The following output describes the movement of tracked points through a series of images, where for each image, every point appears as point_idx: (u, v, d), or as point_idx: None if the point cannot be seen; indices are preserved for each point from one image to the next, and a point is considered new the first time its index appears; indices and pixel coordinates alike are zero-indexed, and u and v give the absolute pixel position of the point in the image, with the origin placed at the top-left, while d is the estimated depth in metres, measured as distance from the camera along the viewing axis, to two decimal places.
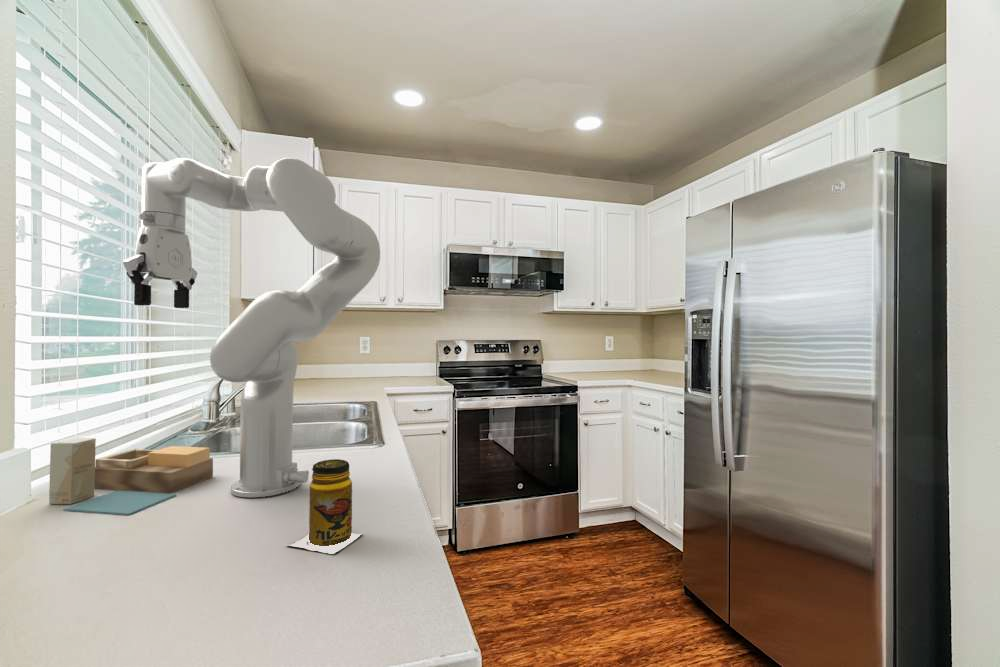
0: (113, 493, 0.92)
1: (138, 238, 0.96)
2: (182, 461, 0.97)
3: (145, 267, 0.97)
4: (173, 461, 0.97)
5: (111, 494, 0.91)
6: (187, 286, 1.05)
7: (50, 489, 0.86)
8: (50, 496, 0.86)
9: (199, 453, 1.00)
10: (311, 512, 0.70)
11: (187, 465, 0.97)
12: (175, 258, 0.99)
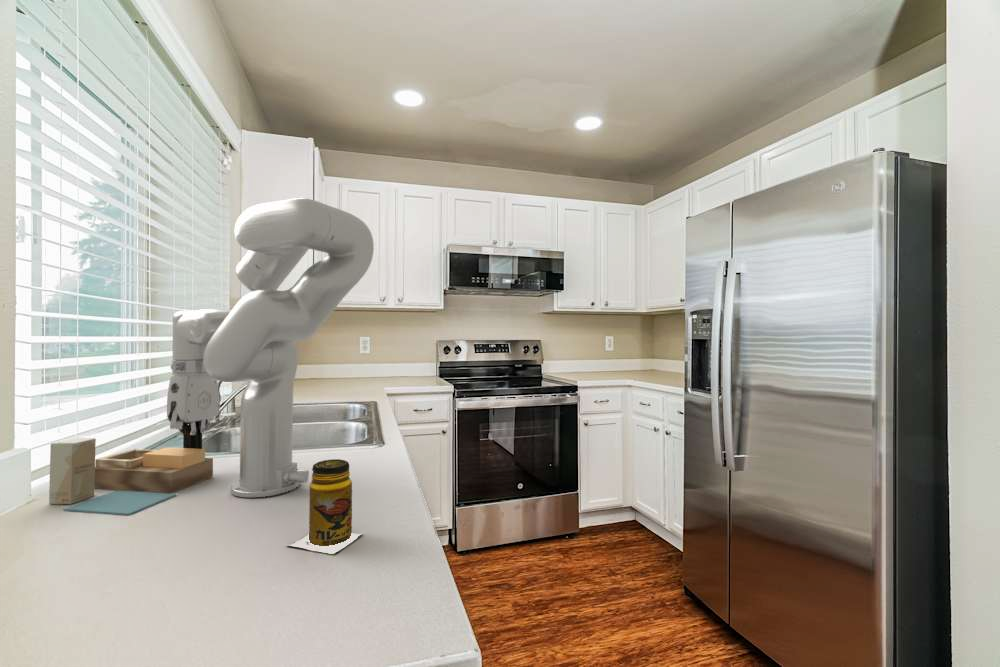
0: (113, 493, 0.92)
1: (169, 387, 1.00)
2: (177, 462, 0.96)
3: None
4: (168, 463, 0.96)
5: (111, 494, 0.91)
6: (201, 428, 1.04)
7: (50, 489, 0.86)
8: (50, 496, 0.86)
9: (194, 455, 0.99)
10: (311, 512, 0.70)
11: (182, 466, 0.96)
12: (204, 400, 1.03)
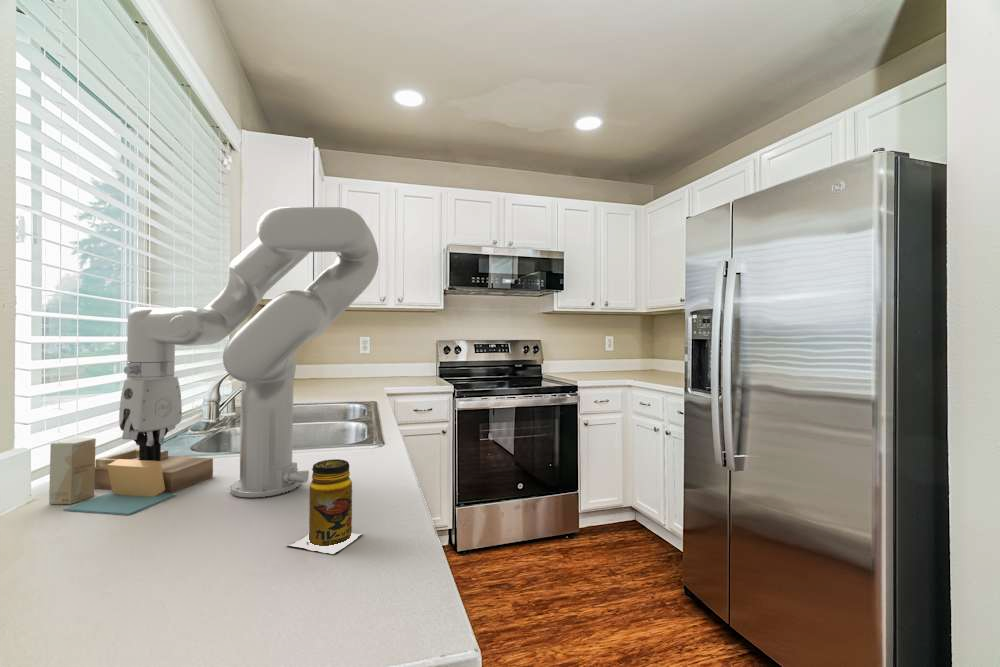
0: None
1: (123, 392, 0.89)
2: None
3: None
4: None
5: (111, 494, 0.91)
6: (160, 438, 0.94)
7: (50, 489, 0.86)
8: (50, 496, 0.86)
9: (154, 479, 0.90)
10: (311, 512, 0.70)
11: (163, 490, 0.92)
12: (162, 407, 0.93)
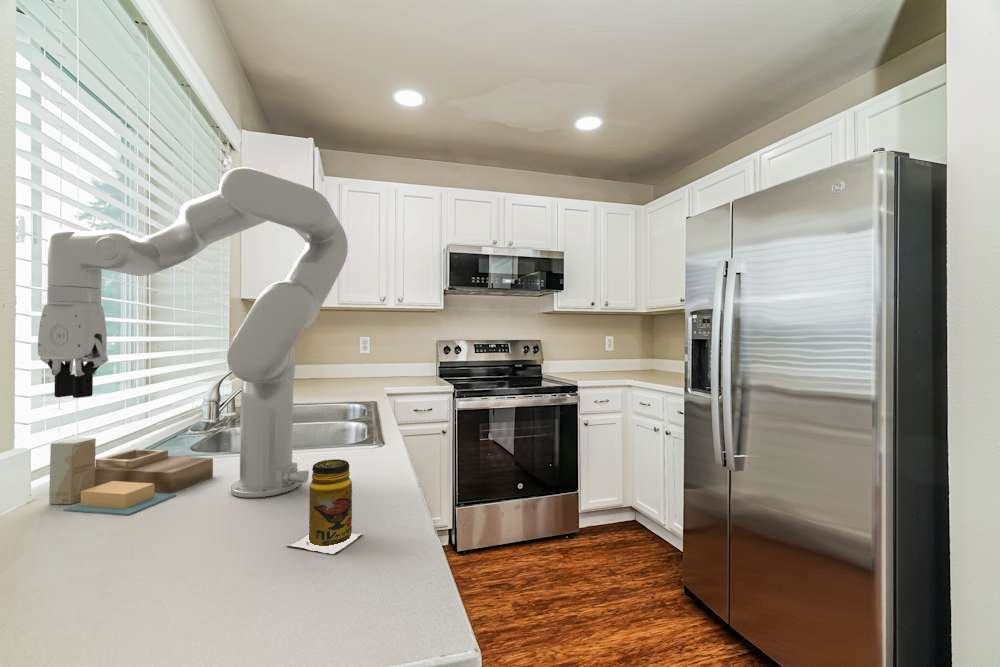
0: None
1: None
2: None
3: None
4: None
5: None
6: (77, 370, 0.87)
7: (50, 489, 0.86)
8: (50, 496, 0.86)
9: (139, 499, 0.87)
10: (311, 512, 0.70)
11: (153, 485, 0.90)
12: (57, 335, 0.86)
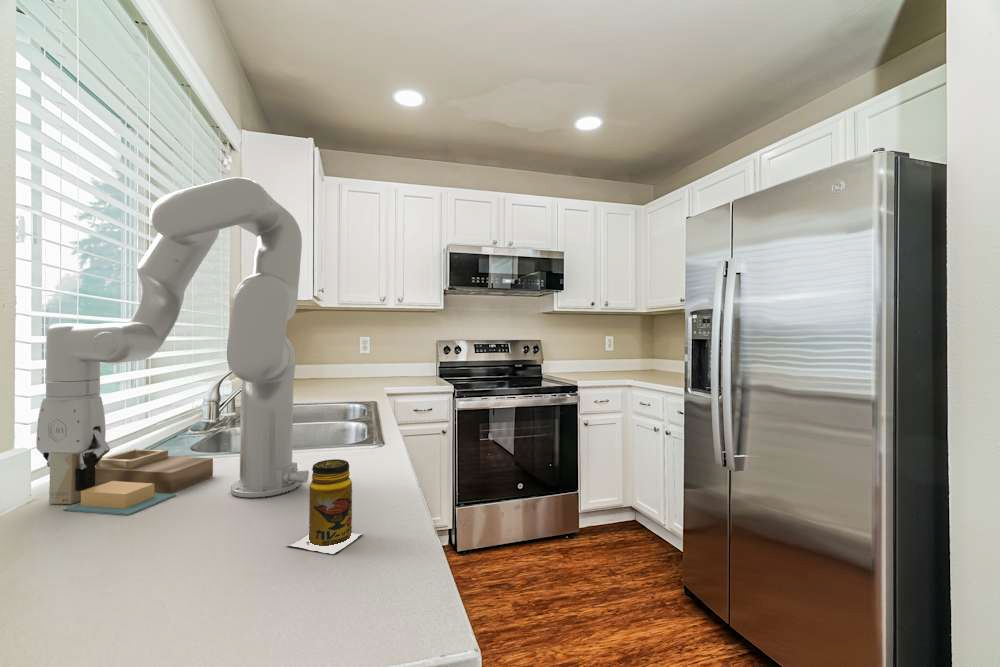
0: None
1: None
2: None
3: None
4: None
5: None
6: (79, 463, 0.87)
7: (50, 489, 0.86)
8: (50, 496, 0.86)
9: (139, 499, 0.87)
10: (311, 512, 0.70)
11: (153, 485, 0.90)
12: (56, 430, 0.86)
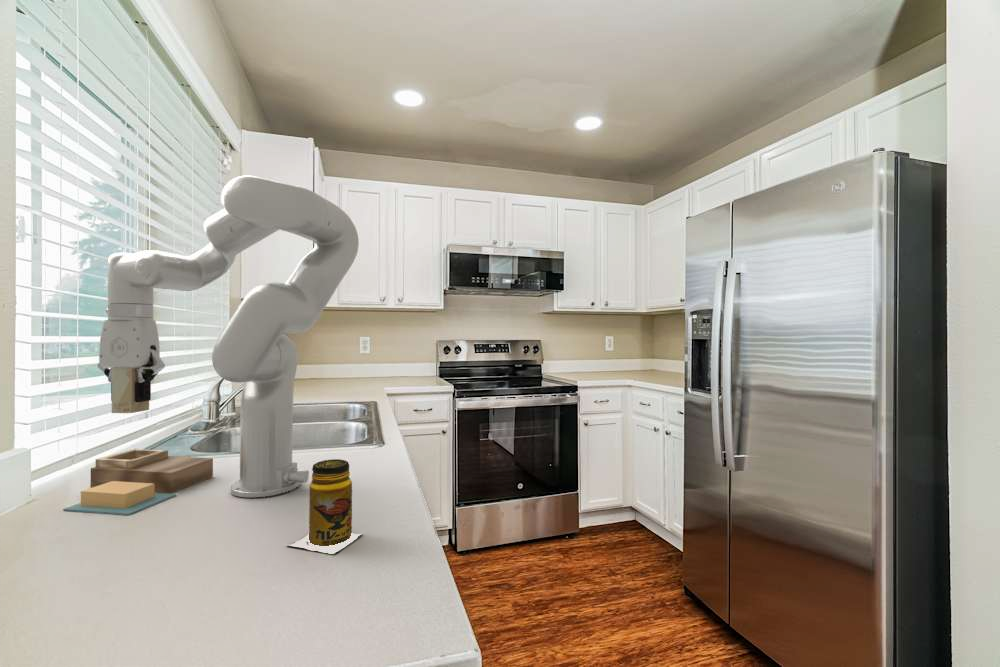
0: None
1: None
2: None
3: None
4: None
5: None
6: (138, 378, 0.98)
7: (112, 400, 0.97)
8: (113, 406, 0.97)
9: (139, 499, 0.87)
10: (311, 512, 0.70)
11: (153, 485, 0.90)
12: (117, 347, 0.97)
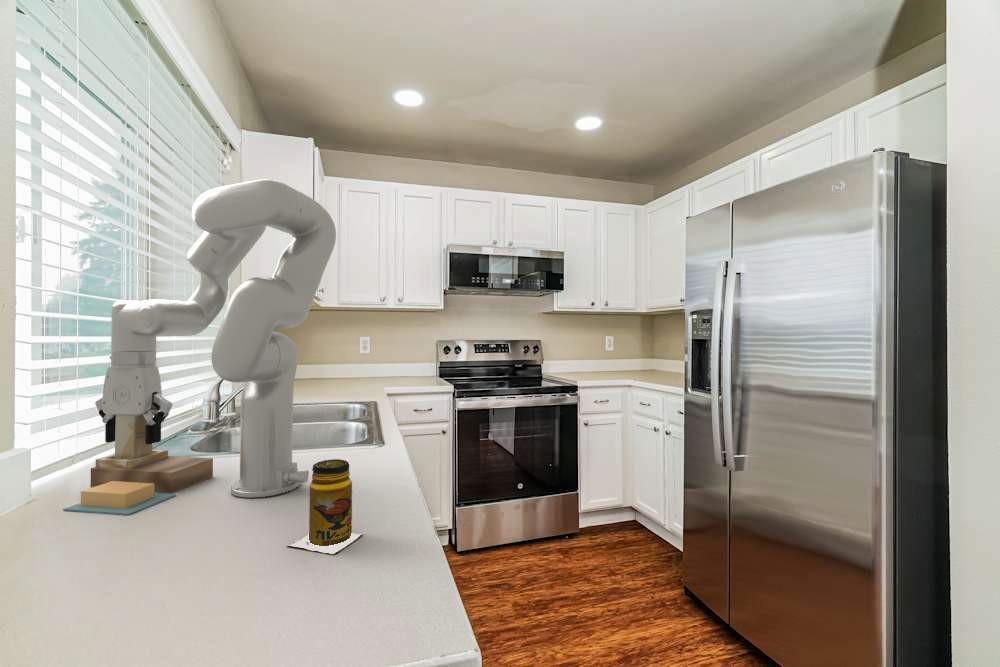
0: None
1: None
2: None
3: None
4: None
5: None
6: (148, 421, 0.98)
7: (115, 451, 0.98)
8: (115, 458, 0.98)
9: (139, 499, 0.87)
10: (311, 512, 0.70)
11: (153, 485, 0.90)
12: (120, 394, 0.97)
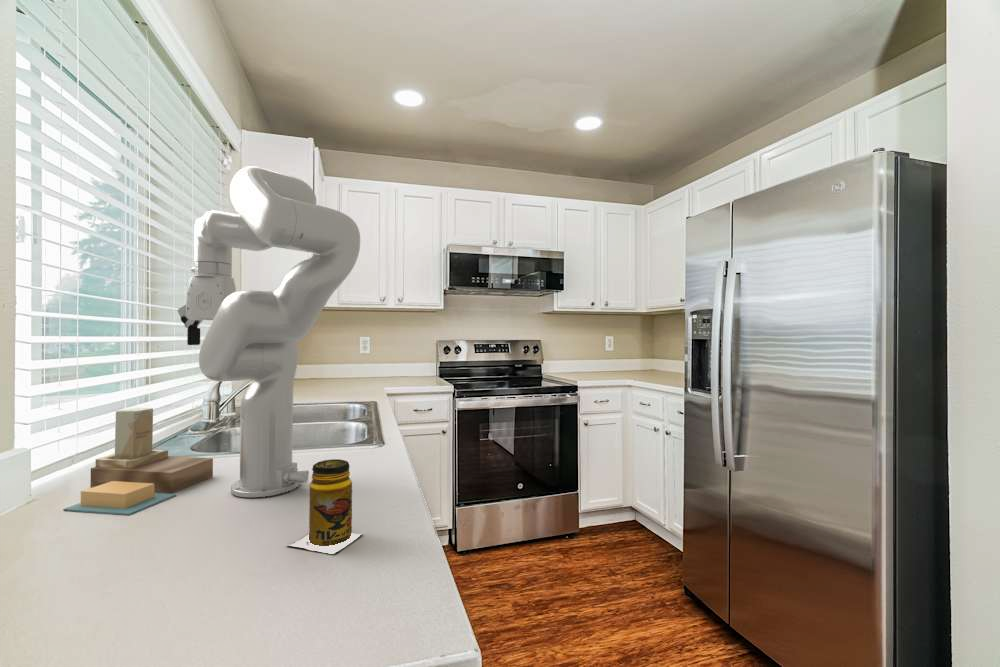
0: None
1: None
2: None
3: None
4: None
5: None
6: None
7: (115, 451, 0.98)
8: (116, 458, 0.98)
9: (139, 499, 0.87)
10: (311, 512, 0.70)
11: (153, 485, 0.90)
12: (203, 301, 1.09)
